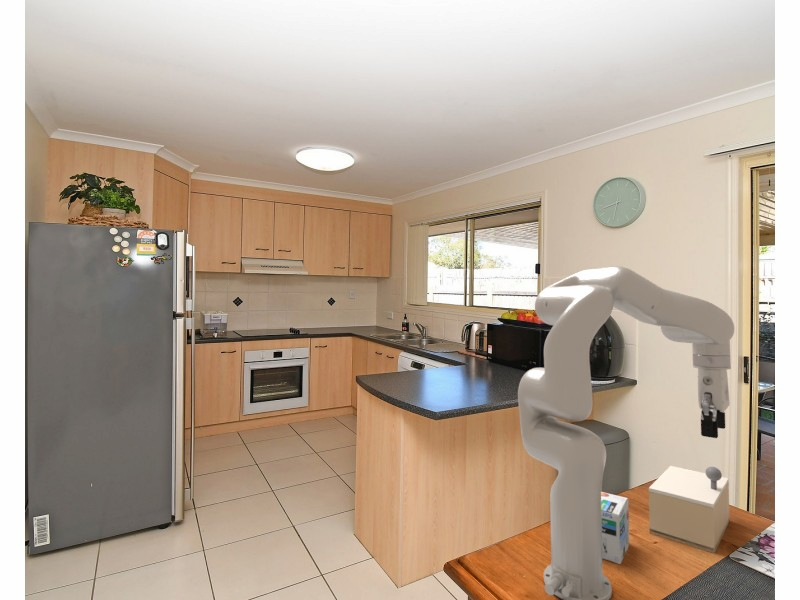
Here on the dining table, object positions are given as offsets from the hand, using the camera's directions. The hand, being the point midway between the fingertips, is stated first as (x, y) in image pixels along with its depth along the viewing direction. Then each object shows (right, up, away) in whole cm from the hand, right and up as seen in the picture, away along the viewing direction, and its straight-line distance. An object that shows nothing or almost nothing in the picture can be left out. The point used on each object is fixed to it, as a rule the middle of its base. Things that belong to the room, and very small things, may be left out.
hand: (713, 432), depth 106 cm
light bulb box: (-28, -25, -6) cm, 38 cm away
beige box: (-4, -25, +3) cm, 25 cm away
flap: (-4, -14, +3) cm, 15 cm away
